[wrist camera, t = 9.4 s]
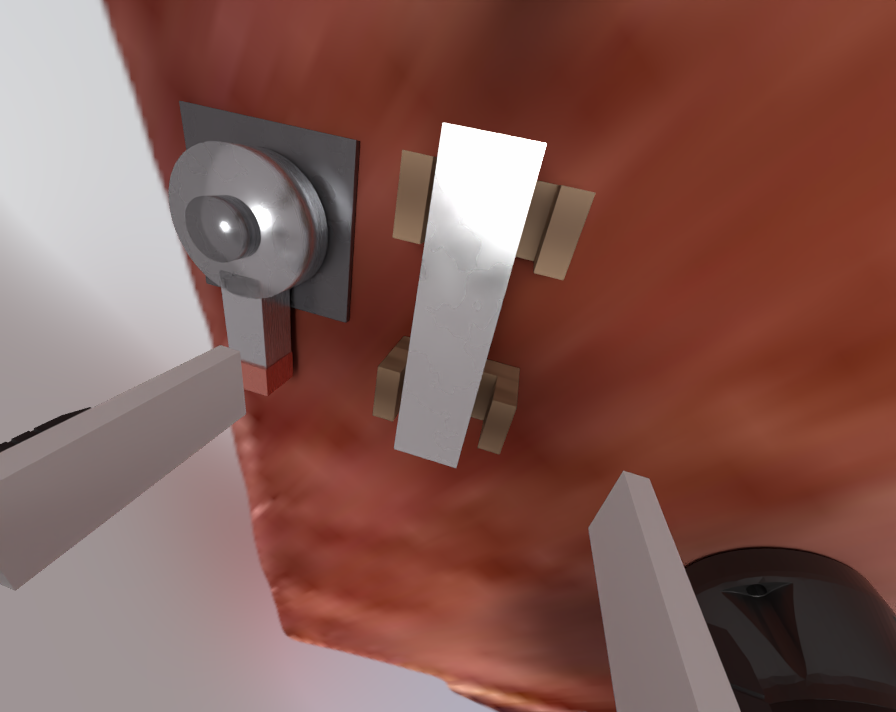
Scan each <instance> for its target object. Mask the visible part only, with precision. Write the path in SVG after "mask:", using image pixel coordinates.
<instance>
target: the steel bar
mask: <svg viewBox="0 0 896 712" xmlns="http://www.w3.org/2000/svg"><path fill="white" fill-rule="evenodd" d="M546 145H547V143H543V142H538V141H533V140H528V139H523V138H518V137H513V136H508V135H503V134H498V133H493V132H488V131H483V130H478V129H473V128H469V127H464V126H459V125H454V124H449V123H444V122H443V124H442V130H441V137H440V144H439V151H438V157H437V164H436V171H435V177H434V184H433V191H432V197H431V204H430V211H429V217H428V224H427V231H426V237H425V244H424V251H423V257H422V264H421V271H420V277H419V284H418V291H417V297H416V304H415V311H414V317H413V324H412V331H411V338H410V344H409V351H408V358H407V364H406V371H405V378H404V384H403V391H402V398H401V404H400V411H399V418H398V424H397V431H396V438H395V444H394V449H396V450H399V451H403V452H406V453H409V454H412V455H415V456H419V457H422V458H425V459H428V460H431V461H435V462H438V463H441V464H444V465H447V466H451V467H454V468H456V467H457V463H458V460H459V456H460V453H461V449H462V446H463V442H464V438H465V435H466V431H467V428H468V424H469V420H470V417H471V413H472V410H473V406H474V403H475V399H476V395H477V392H478V388H479V385H480V381H481V378H482V374H483V370H484V367H485V363H486V360H487V356H488V352H489V349H490V345H491V342H492V338H493V335H494V331H495V327H496V324H497V320H498V317H499V313H500V309H501V306H502V302H503V299H504V295H505V292H506V288H507V284H508V281H509V277H510V274H511V270H512V266H513V263H514V259H515V256H516V252H517V249H518V245H519V241H520V238H521V234H522V231H523V227H524V223H525V220H526V216H527V213H528V209H529V206H530V202H531V198H532V195H533V191H534V188H535V184H536V180H537V177H538V173H539V170H540V166H541V163H542V159H543V155H544V152H545V148H546Z"/></svg>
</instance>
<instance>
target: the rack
mask: <svg viewBox="0 0 896 712" xmlns="http://www.w3.org/2000/svg"><path fill="white" fill-rule="evenodd" d="M436 164H437V157H433V156H428V155H424V154H419V153H415V152H410V151H406V150H402V158H401V167H400V176H399V185H398V194H397V203H396V212H395V221H394V229H393V238H397V239H401V240H405V241H409V242H413V243H417V244H421V243H423V242H425V237H426V231H427V224H428V217H429V211H430V204H431V197H432V191H433V184H434V177H435V171H436ZM594 196H595V193H594V192H590V191H585V190H581V189H576V188H572V187H567V186H563V185H555V184H551V183H546V182H542V181H537V180H536V184H535V188H534V191H533V195H532V198H531V202H530V206H529V209H528V213H527V216H526V220H525V223H524V227H523V231H522V234H521V238H520V241H519V245H518V249H517V252H516V256H515V257H519V258H523V259H527V260H531V261H534V273H536V274H540V275H544V276H548V277H552V278H556V279H560V280H564V277H565V275H566V272H567V269H568V267H569V264H570V261H571V258H572V256H573V253H574V250H575V247H576V245H577V242H578V239H579V237H580V234H581V231H582V228H583V226H584V223H585V220H586V218H587V215H588V212H589V209H590V207H591V204H592V201H593V198H594ZM409 344H410V337H406V336H403V338H402V339H401V340H400V341H399V342H398V344H397V345H396V346H395V347H394V348H393V349H392V351H391V352H390V353H389V354H388V355H387V356H386V358H385V359H384V360H383V361H382V362H381V364H380V365H379V366H378V371H377V380H376V389H375V398H374V407H373V416H377V417H380V418H383V419H386V420H390V421H394V419H395V417H396V416H397V414H398V412H399V411H400V404H401V398H402V391H403V384H404V378H405V371H406V364H407V358H408V351H409ZM519 372H520V368H516V367H513V366H509V365H506V364H502V363H499V362H495V361H492V360H488V359H487V360H486V363H485V367H484V370H483V374H482V378H481V381H480V385H479V388H478V392H477V395H476V399H475V403H474V406H473V410H472V413H471V417H473V418H476V419H479V420H483V425H482V429H481V434H480V439H479V443H478V448H480V449H483V450H486V451H490V452H493V453H496V454H500V452H501V449H502V446H503V443H504V441H505V438H506V435H507V433H508V430H509V427H510V424H511V422H512V419H513V416H514V414H515V411H516V408H517V398H518V385H519Z"/></svg>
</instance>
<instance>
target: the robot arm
mask: <svg viewBox="0 0 896 712" xmlns="http://www.w3.org/2000/svg"><path fill="white" fill-rule="evenodd" d="M245 414H246V408H245V398H244V388H243V377H242V367H241V357H240V351H237V350H234V349H231V348H228V347H224V346H221V345H220V346H218V347H216V348H214V349H212V350H210V351H208V352H206V353H204V354H202V355H200V356H198V357H195V358H193V359H191V360H189V361H187V362H185V363H183V364H181V365H180V366H177V367H175V368H173V369H171V370H169V371H167V372H165V373H163V374H161V375H159V376H156V377H155V378H153V379H150V380H148V381H146V382H144V383H142V384H140V385H138V386H136V387H134V388H132V389H130V390H128V391H126V392H124V393H122V394H120V395H117V396H116V397H113V398H111V399H109V400H107V401H105V402H103V403H101V404H99V405H97V406H95V407H93V408H91V407H89V408H85V409H82V410H79V411H75V412H72V413H68V414H65V415H61V416H59V417H57V418H55V419H53V420H51V421H49V422H46V423H44V424H42V425H40V426H38V427H36V428H34V430H33V431H31V432H30V431H27V432H25V433H23V434H21V435H19V436H17V437H15V438H13V439H12V440H11V441H10V442H4V443H2V444H0V584H1V585H4V586H6V587H8V588H10V589H13V590H17V589H18V588H19V587H21V586H22V585H23V584H25V583H26V582H27V581H29V580H30V579H31V578H33V577H34V576H35V575H36V574H38V573H39V572H40V571H42V570H43V569H44V568H46V567H47V566H48V565H49V564H51V563H52V562H53V561H55V560H56V559H57V558H59V557H60V556H61V555H62V554H64V553H65V552H66V551H68V550H69V549H70V548H72V547H73V546H74V545H75V544H77V543H78V542H79V541H81V540H82V539H83V538H85V537H86V536H87V535H88V534H90V533H91V532H92V531H94V530H95V529H96V528H98V527H99V526H100V525H101V524H103V523H104V522H105V521H107V520H108V519H109V518H111V517H112V516H113V515H115V514H116V513H117V512H119V511H120V510H121V509H123V508H124V507H125V506H126V505H128V504H129V503H130V502H132V501H133V500H134V499H135V498H137V497H138V496H140V495H141V494H142V493H143V492H145V491H146V490H147V489H149V488H150V487H151V486H152V485H154V484H155V483H156V482H158V481H159V480H160V479H162V478H163V477H164V476H165V475H167V474H168V473H170V472H171V471H172V470H173V469H175V468H176V467H177V466H179V465H180V464H181V463H183V462H184V461H185V460H187V459H188V458H189V457H190V456H192V455H193V454H194V453H196V452H197V451H198V450H199V449H201V448H202V447H203V446H205V445H206V444H207V443H209V442H210V441H211V440H213V439H214V438H215V437H216V436H218V435H219V434H220V433H222V432H223V431H224V430H226V429H227V428H228V427H230V426H231V425H232V424H234V423H235V422H236V421H237V420H239V419H240V418H241V417H243V416H244V415H245ZM588 529H589V536H590V542H591V549H592V555H593V561H594V568H595V574H596V581H597V587H598V594H599V600H600V607H601V613H602V620H603V626H604V633H605V639H606V645H607V652H608V658H609V665H610V671H611V678H612V684H613V691H614V697H615V704H616V710H617V712H896V615H895V613H894V612H893V610H892V609H891V608H890V607H889V605H888V604H887V603H886V602H885V601H884V599H883V598H882V597H881V596H880V595H879V593H878V592H877V591H876V590H875V589H874V587H873V586H872V585H871V584H870V583H869V582H868V581H867V580H866V579H865V578H864V577H863V576H862V575H861V574H859V573H858V572H856V571H855V570H853V569H852V568H850V567H848V566H846V565H844V564H842V563H840V562H837V561H835V560H832V559H829V558H826V557H823V556H819V555H816V554H811V553H807V552H801V551H795V550H786V549H747V550H738V551H732V552H727V553H722V554H718V555H715V556H711V557H708V558H706V559H703V560H701V561H698V562H696V563H694V564H692V565H690V566H689V567H687V568H684V566H683V563H682V561H681V558H680V556H679V553H678V551H677V548H676V546H675V543H674V541H673V538H672V535H671V533H670V530H669V528H668V525H667V523H666V520H665V518H664V515H663V513H662V510H661V507H660V505H659V502H658V500H657V497H656V495H655V492H654V490H653V487H652V485H651V482H650V480H649V478H645V477H642V476H639V475H636V474H633V473H629V472H626V471H623V472H622V474H621V475H620V477H619V479H618V480H617V482H616V484H615V485H614V487H613V488H612V490H611V492H610V493H609V495H608V497H607V498H606V500H605V502H604V503H603V505H602V506H601V508H600V510H599V511H598V513H597V515H596V516H595V518H594V520H593V521H592V523H591V524H590V526H589V528H588Z"/></svg>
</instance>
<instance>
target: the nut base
mask: <svg viewBox="0 0 896 712" xmlns="http://www.w3.org/2000/svg"><path fill="white" fill-rule="evenodd" d="M179 103H180V110H181V116H182V123H183V130H184V136H185V143H186V150H188V149H189V148H190V147H192V146H194V145H196V144H198V143H202V142H207V141H219V142H226V143H234V144H241V145H249V146H256V147H263V148H266V149H270V150H272V151H275V152H277V153H279V154H281V155H282V156H284V157H285V158H287V159H288V160H290V161H291V162H292V163H293V164H294V165H296V166H297V167H298V168H299V169H300V170H301V172H302V173H303V174H304V175H305V176H306V177H307V179H308V180H309V181H310V183H311V184H312V186H313V188H314V189H315V191H316V193H317V195H318V197H319V199H320V201H321V204H322V207H323V209H324V213H325V217H326V222H327V229H328V242H327V250H326V254H325V257H324V260H323V263H322V264H321V266H320V268H319V269H318V271H317V272H316V273H315V275H313V276H312V277H311V278H310V279H309V280H307V281H306V282H304V283H302V284H299V285H297V286H295V287H292V288H290V289H289V295H290V307H293V308H296V309H300V310H303V311H307V312H310V313H314V314H317V315H321V316H324V317H328V318H331V319H335V320H339V321H342V322H348V321H349V315H350V299H351V282H352V265H353V249H354V232H355V216H356V199H357V182H358V166H359V149H360V141H357V140H353V139H348V138H344V137H339V136H335V135H331V134H326V133H322V132H317V131H313V130H308V129H304V128H299V127H295V126H290V125H286V124H281V123H277V122H272V121H268V120H263V119H259V118H254V117H250V116H246V115H241V114H237V113H232V112H228V111H223V110H219V109H214V108H210V107H205V106H201V105H196V104H192V103H187V102H183V101H179ZM205 276H206V275H205ZM206 282H207V283H208V284H211V285H215V286H218V285H217V284H216V283H214V282H213V281H212V280H211V279H209V278H208V277H207V276H206ZM218 287H220V286H218Z"/></svg>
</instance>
